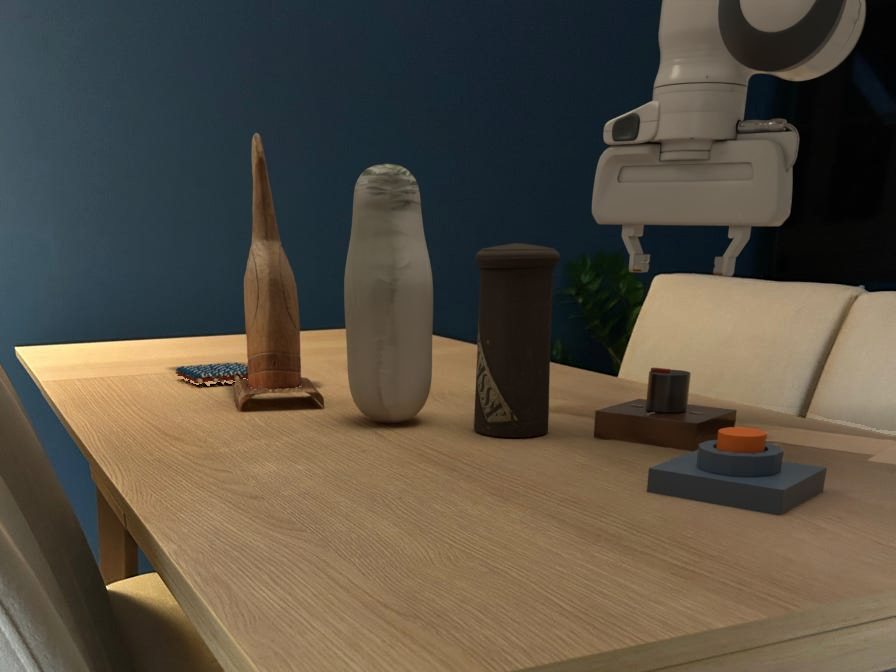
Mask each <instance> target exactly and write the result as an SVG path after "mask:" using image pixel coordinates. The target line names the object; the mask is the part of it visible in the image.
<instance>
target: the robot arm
mask: <svg viewBox="0 0 896 672" xmlns="http://www.w3.org/2000/svg"><path fill="white" fill-rule="evenodd" d="M661 1H662V2H661V8H660V17H659V26H658V36H657V37H658V40H657V41H658V47H659V54H660V55H659V58H660V60H659V67H658V71H657V74H656V77H655V79H654V83H653V90H652V99H651V101H648V102H647V103H645V104H643V105H641V106H639V107H636V108H634V109H633V110H630V111H628V112H626V113H624V114H622V115H619V116H617V117H615V118H612V119H611V120H610V119H609V120H608V121H607V122H606V123H605V124H604V126H603V133H602V135H603V142H604V143H605V144H606V145H610V146H609V147H607V148H606V149H605V150H604V151H603V152H602V154H601V155H600V156H599V159H598V162H597V165H596V169H595V175H594V182H593V189H592V199H591V214H592V216H593V219H594V220H595V222H596V223H597V224H598V225H610V226H611V225H612V226H613V225H616V226H617V225H619V226H620V225H622V226H621V227H622V228H621V238H622V241H623V243H624V246H625V248H626V250H627V252H628V253H627V254H628V255H629V260H628V261H629V263H628V271H629V273H648V271H649V269H650V264H649V263H650V261H651V260H650V259H651V254H648V253H644V251H643V248H642V245H641V243H640V240H639V237H642V236H643V235H644V227H645V226H646V225H647V226H728V234H727V238H729V239H732V241H731V242H730V244H729V245H728V247H727V248H726V250H725V252H724V254H723V255H722V256H714V261H713V264H714V267H713V270H712V274H713V276H715V277H716V276H718V277H733V275H734V273H735V269H736V268H735V267H736V260H737V257H738V256H739V255H740V253H741V252H742V251H743V249H744V247H745V246H746V245H747V243H748V242H749V240H750V238H751V233H752V227H780V226H782V225H783V224H784V223H785V221H786V220H788V218H789V217H790V215H791V209H792V202H793V201H792V199H793V177H794V175H793V166H794V165H795V163H796V161H797V158H798V152H799V146H800V134H799V130H798V129H797V128H796V127H795V126H794V125H793V124H791V123H790V122H789V123H788V121H787V119H785V118H772V119H769V120H764V119H762V120H761V119H748V120H747V119H745V120H744V118H745V110H746V104H747V97H748V96H747V95H748V94H747V93H748V87H749V81H750V78H752V77H753V76H754V75H756V74H765V75H769V76H773V77H777V78H779V79H782V80H786V81H790V82H804V81H810V80H812V79H815V78H819V77H822V76H825V75H827V74H828V73H830V72H831V71H833V70H835V69H836V68H837V67H839V66H840V65H841V64H842V63H843V62H844V61H846V59H847V58H848V57H849V56H850V55H851V53H852V52H853V50H854V49H855V47H856V46H857V44H858V42H859V40H860V38H861V36H862V33H863V30H864V27H865V23H866V18H867V0H661ZM786 130H789V131H786Z"/></svg>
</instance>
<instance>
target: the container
mask: <svg viewBox="0 0 896 672" xmlns="http://www.w3.org/2000/svg"><path fill="white" fill-rule="evenodd" d="M560 260H561V254H560V252H559V251H557V250H556V248H553V247H547V246H541V245H536V244H528V243H519V242H517V243H516V242H514V243H508V244H501V245H494V246H490V247H484V248H481V249H480V250H479V251H478V252H477V253H476V254H475V263H476V264H477V266H478V268H479V274H480V275H479V294H478V295H479V296H478V322H477V324H478V325H477V328H478V329H477V342H476V343H477V346H476V348H477V350H476V369H475V371H476V372H475V390H474V391H475V394H474V415H473V416H474V417H473V429H474V430H475V432H477V433H479V434H482V435H485V436H491V437H498V438H532V437H538V436H543V435H545V434H547V433H548V431H549V421H550V420H549V416H550V378H551V377H550V373H551V344H552V343H551V338H552V310H553V291H554V273H555V272H554V271H555V268H557V266H558V264H559V263H560Z"/></svg>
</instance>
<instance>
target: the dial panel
mask: <svg viewBox="0 0 896 672" xmlns="http://www.w3.org/2000/svg"><path fill="white" fill-rule="evenodd" d="M646 401H647V398H646V399H645V398H636V399H633V400H629V401H625V402H622V403H618V404H614V405H611V406H606V407H603V408H599V409H596V410H595V412H594V427H593V438H595V437H596V439H603V440H612V441H619V442H625V443H632V444H639V445H646V446H653V447H659V448H660V447H661V448H668V449H674V450H680V451H689V452H693V451H695V450H698V445H699V444H700V443H703V442H705V441H709V440H717V438H718V431H719V429H722V428H729V427H736V420H737V411H738V410H737V409H733V408H732V409H731V408H723V407H714V406H708V405H707V406H706V405H699V404H689V403H687V410H686V411H684V412H680V413H660V412H653V411H649V410H647V409H646Z"/></svg>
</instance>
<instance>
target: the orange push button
mask: <svg viewBox="0 0 896 672" xmlns="http://www.w3.org/2000/svg"><path fill="white" fill-rule="evenodd" d="M767 434H768V433H767V432H766V430H762V429H758V428H754V427H753V428H752V427H744V426H743V427H742V426H735V427H729V428H722V429H719V431H718V438H717V446H716V449H719V450H722V451H728V452H735V453H760V452H764V450H765V443H766V442H767V437H768V435H767Z"/></svg>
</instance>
